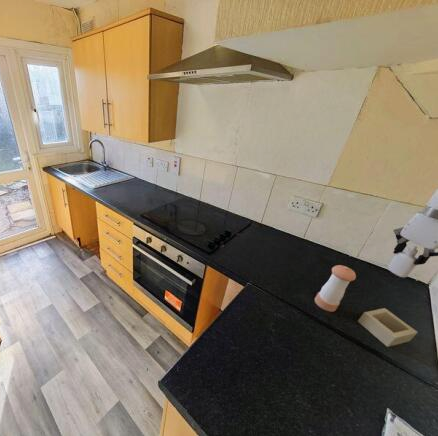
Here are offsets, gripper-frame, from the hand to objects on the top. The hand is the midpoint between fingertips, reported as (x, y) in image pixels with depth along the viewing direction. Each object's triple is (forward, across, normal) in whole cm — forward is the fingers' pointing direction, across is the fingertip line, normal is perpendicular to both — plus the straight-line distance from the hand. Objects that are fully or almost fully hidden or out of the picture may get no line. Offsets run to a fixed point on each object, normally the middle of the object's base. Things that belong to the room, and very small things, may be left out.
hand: (407, 258), depth 81 cm
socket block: (+23, -11, +10) cm, 28 cm away
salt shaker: (+24, +3, +21) cm, 32 cm away
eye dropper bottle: (+7, 0, 0) cm, 7 cm away
